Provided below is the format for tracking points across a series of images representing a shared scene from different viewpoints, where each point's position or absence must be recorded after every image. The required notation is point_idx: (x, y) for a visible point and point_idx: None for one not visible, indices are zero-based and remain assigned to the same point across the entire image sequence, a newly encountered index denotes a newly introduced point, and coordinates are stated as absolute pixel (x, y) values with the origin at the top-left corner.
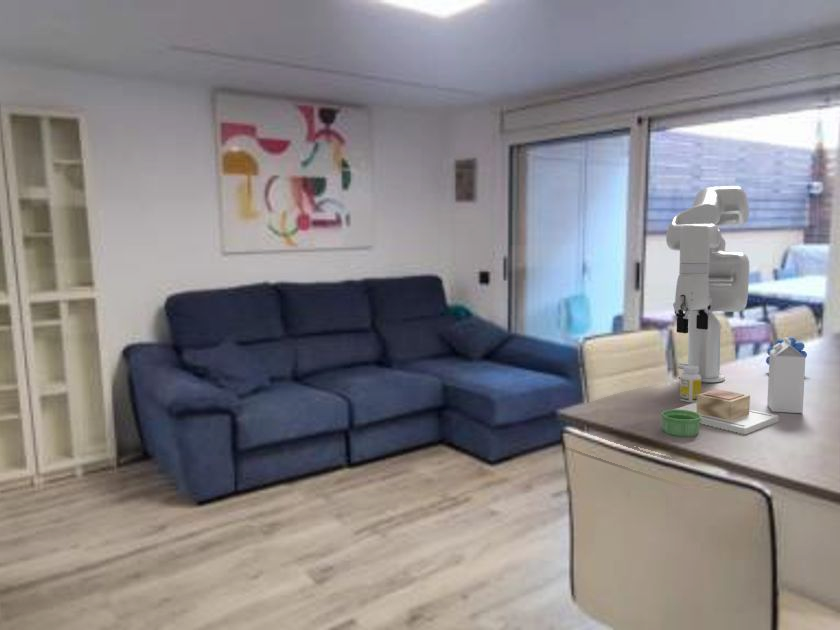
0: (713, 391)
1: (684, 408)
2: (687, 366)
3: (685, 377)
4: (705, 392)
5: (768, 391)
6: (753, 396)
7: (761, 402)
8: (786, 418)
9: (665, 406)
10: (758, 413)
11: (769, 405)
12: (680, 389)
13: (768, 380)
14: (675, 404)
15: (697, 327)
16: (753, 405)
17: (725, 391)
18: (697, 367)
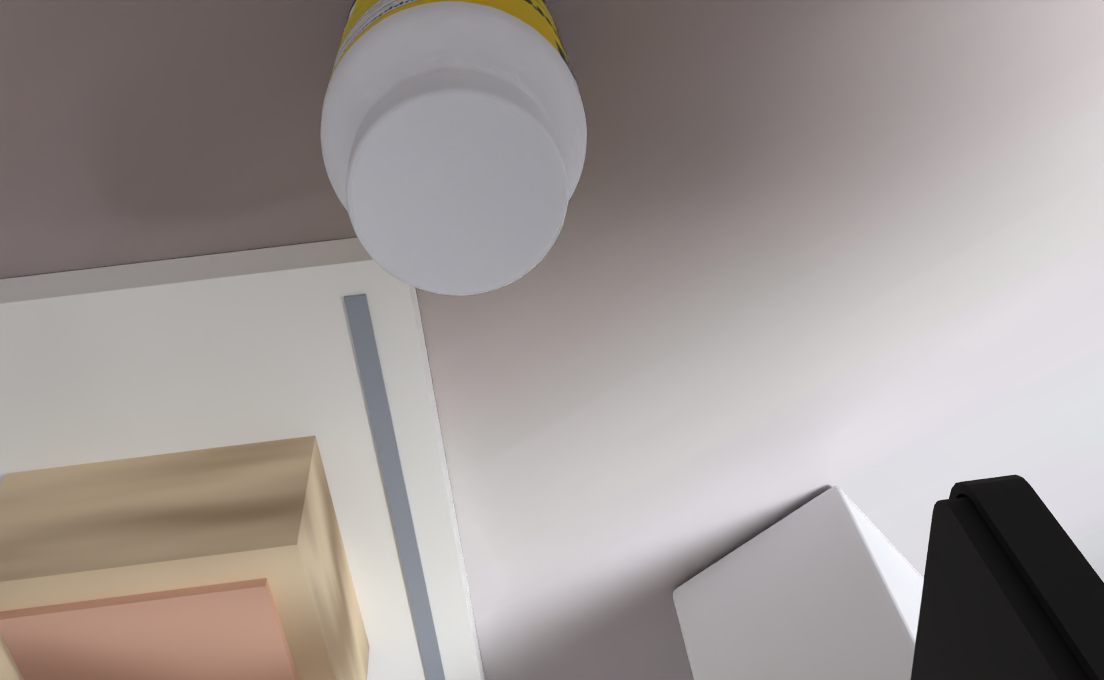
0: (160, 614)
1: (2, 348)
2: (437, 150)
3: (324, 159)
4: (95, 573)
5: (846, 583)
6: (1049, 279)
7: (888, 417)
8: None
9: (31, 49)
10: (424, 670)
11: (762, 547)
12: (362, 3)
13: (901, 643)
14: (191, 57)
15: (948, 533)
16: (751, 436)
17: (263, 655)
18: (490, 282)
